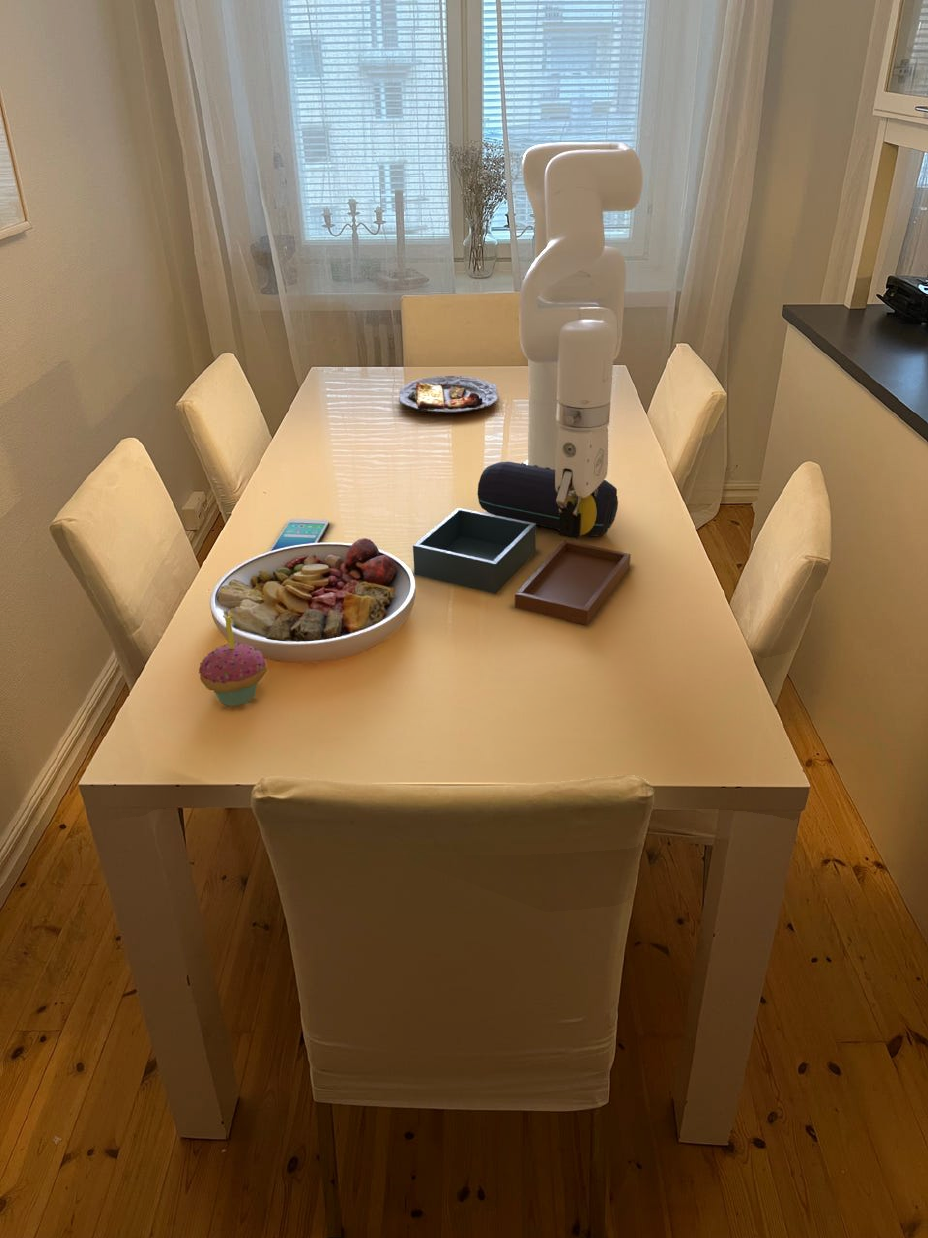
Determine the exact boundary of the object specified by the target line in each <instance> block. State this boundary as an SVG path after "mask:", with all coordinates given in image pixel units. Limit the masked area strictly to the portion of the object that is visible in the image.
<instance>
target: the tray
mask: <svg viewBox="0 0 928 1238" xmlns="http://www.w3.org/2000/svg"><path fill="white" fill-rule="evenodd" d="M631 556H632V555H631V553H629V552H623V551H619V550H614V549H608V548H604V547H599V546H594V545H591V544H585V543H584V544H583V543H579V542H575V541H569V540H563V541H562V542H560V544H559V545H558V546H557V547H556V548H555V549H554V550H553V551H552V553H550V555H549V556H548V557H547V558H546V559H545V560H544V561H543V562H542V563H541V564H540V566H539V567H538V568H537V569H536V570H535V571H534V572H533V573H532V575H530V577H528V579H527V580H526V581H525V582H524V583H523V584H522V585H521V587H520V588H519V589H518V590H517V591H515V593H514V608H515V609H518V610H522V611H526V612H531V613H534V614H539V615H542V616H547V617H551V618H555V619H558V620H559V619H560V620H563V621H568V622H572V623H575V624H580V625H583V626H587V625H588V624H589V622H591V620H592V619H593V618H594V616H595V615H596V613H597V612H598V611H599V609H600V608H601V607H602V605H603V604H604V603H605V601H606V600H607V598H608V597H609V596H610V594H611V593H612V592H613V590H615V588H616V586H617V585H618V584H619V582H620V581H621V580H622V578H623V577H624V576H625V574H626V573H627V572H628V570H629V569H630V568H631Z"/></svg>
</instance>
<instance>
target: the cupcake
mask: <svg viewBox="0 0 928 1238" xmlns="http://www.w3.org/2000/svg"><path fill="white" fill-rule="evenodd" d="M226 615H227V616H226V617H225V621H226V628H227V635H228V640H227V642H228V643H227V644H224V645H221V646H219V647H215V648H214V649H213V650H212V651H210V652H209V653H207V655H206V656H204V657H203V658H202V662H200V663H199V669H198V670H199V672H198V673H199V678H200V681H201V683H202V684H203V685H204V687H205V688H206V689H207V690H209V691H212V692H214V694H215V695H216V697H217V698H218V700H219V702H220V703H221V704H223V705H225V706H230V707H238V706H243V705H245V704H247V703H249V702H251V701H252V700H253V699H254V698H255V696H256V694H257V687H258V683H259V682H260V681H261V680H262V678H263V677H264V675H265V674H266V673H267V670H268V666H267V661H266V659H264V657H263V655H262V654H261V651H258V650H256V648H254V647H253V646H251V647H250V646H248V645H244V644H240V643H234V640H233V633H232V626H231V619H230V616H228V610H226Z"/></svg>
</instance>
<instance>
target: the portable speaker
mask: <svg viewBox="0 0 928 1238" xmlns="http://www.w3.org/2000/svg"><path fill="white" fill-rule="evenodd" d="M597 489H598V492H597V495H596V496H593V497H597V499H596V510H597V515H596V520H595V523H594V526H593V527H592V529H591V530H590V531H589V532H587V533H586V534H583V535H582V536H586V537H603V536H605V535H606V534H607V532H608V530H609V529H610V528H611V526H612V525H613V523H614V521H615V519H616V516H617V511H618V507H619V500H618V489H617V487H615V486H614V485H613V484H612V483H611V482H609V481H607V480H606V479H604V481H603V482H602V483H601V484H600V485H599V486H598V487H597ZM573 490H575V489H571V490H570V492H571V491H573ZM476 494H477V499H478V504H479V505H480V507H481V509H483V510H484V511H485V512H486V513H487V514H492V515H497V516H501V517H506V518H511V519H516V520H521V521H526V522H531V523H536V526H539V527H543V528H544V527H545V528H549V529H554V530H558V531H559V506H558V504H557V503H556V499H557V496H558V493H557V491H556V488H555V470H552V469H550V468H548V467H546V468H542V467H538V466H537V465H534V466H531V465H526V464H525V463H524V462H521V463H519V462H514V461H499V462H496V463H493V464H491V465H488V466H487V467H486V468H484V469H483V471H482V473H481V474H480V477H479V481H478V484H477V493H476Z"/></svg>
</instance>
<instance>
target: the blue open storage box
mask: <svg viewBox="0 0 928 1238" xmlns="http://www.w3.org/2000/svg"><path fill="white" fill-rule="evenodd" d="M536 543H537V525H536V523H531V522H526V521H521V520H516V519H511V518H506V517H501V516H497V515H493V514H490V513H488V512H482V511H477V510H472V509H467V508H461V507H457V508H456V509H455V510H454V511H452V512H451V513H450V514H449V515H448V516H446V517H445V518H444V519H443V520H441V521H440V522H439V523H437V525H436V526H434V527H433V528H432V529H431V530H430V531H428V532H427V533H426V534H425V535H424V536H422V537H421V538H420V539H419V540H418V541H416V542H415V543H414V544H413V545H412V553H413V554H412V555H413V556H412V557H413V558H412V559H413V572H414V573H413V576H418V577H424V578H427V579H430V580H431V579H432V580H435V581H439V582H444V583H448V584H452V585H456V586H461V587H464V588H468V589H473V590H477V591H481V592H486V593H490V594H493V595H496V594H497V593H498V592H499V591H500V590H501V589H502V588H503V587H504V586H505V585H506V584H507V582H509V581H510V580H511V579H512V578H513V576H515V574H516V573H517V572H518V571H519V570H520V569H521V568H522V567H523V566H524V565H525V564H526V563H527V562H528V560H529V559H531V557H532V556H533V555H534V554H535V553H536V548H537V546H536V545H537V544H536Z"/></svg>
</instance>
